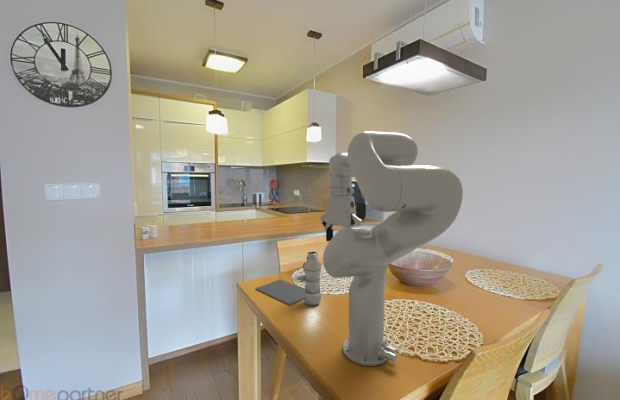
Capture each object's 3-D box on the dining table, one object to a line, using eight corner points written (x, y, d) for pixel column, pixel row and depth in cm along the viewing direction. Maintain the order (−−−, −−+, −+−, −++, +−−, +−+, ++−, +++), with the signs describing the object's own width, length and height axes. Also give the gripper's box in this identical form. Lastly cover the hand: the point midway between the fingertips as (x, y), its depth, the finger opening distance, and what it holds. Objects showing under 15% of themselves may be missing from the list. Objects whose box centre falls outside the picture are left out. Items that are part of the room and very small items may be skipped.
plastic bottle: (301, 301, 105) (301, 251, 103) (317, 298, 107) (317, 249, 106) (307, 309, 99) (306, 256, 97) (323, 305, 101) (323, 254, 100)
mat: (314, 294, 112) (314, 292, 112) (290, 305, 101) (290, 304, 101) (280, 280, 127) (280, 279, 126) (255, 289, 116) (255, 288, 116)
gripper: (368, 192, 88) (368, 244, 89) (327, 191, 100) (327, 237, 101) (355, 193, 83) (355, 248, 84) (314, 192, 94) (314, 240, 95)
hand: (340, 242), depth 92 cm, fingers open, 8 cm apart
